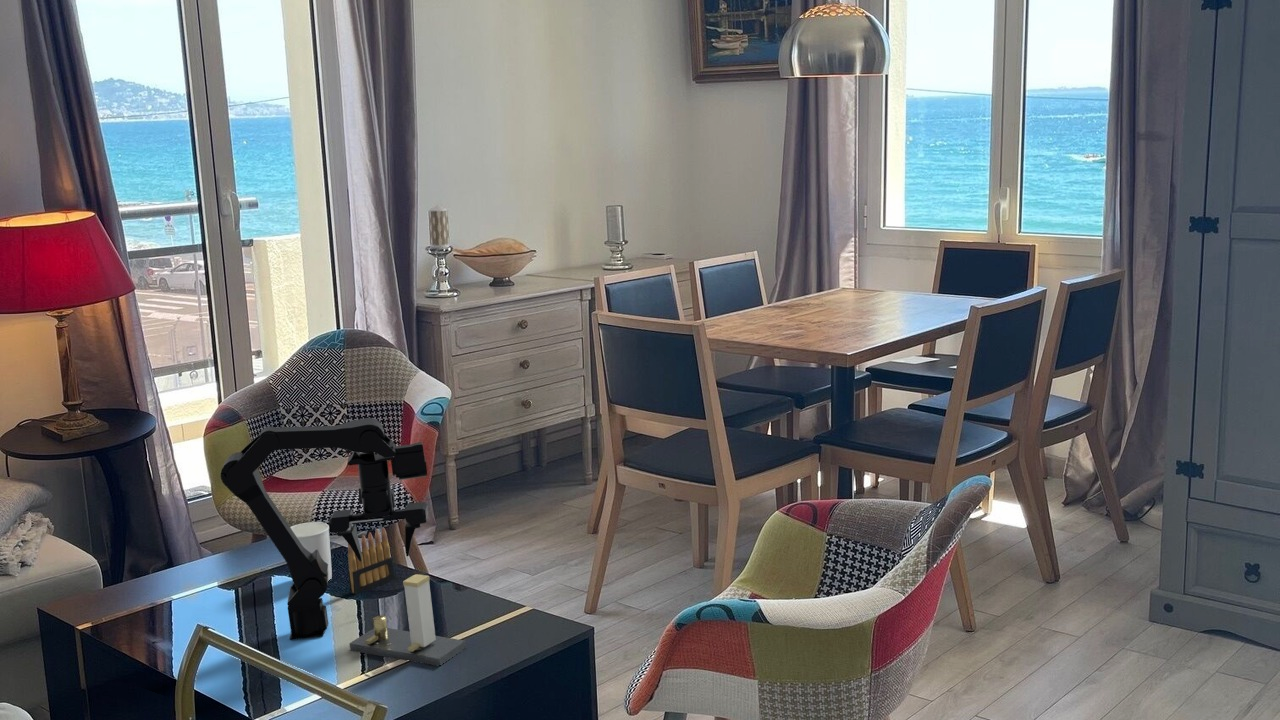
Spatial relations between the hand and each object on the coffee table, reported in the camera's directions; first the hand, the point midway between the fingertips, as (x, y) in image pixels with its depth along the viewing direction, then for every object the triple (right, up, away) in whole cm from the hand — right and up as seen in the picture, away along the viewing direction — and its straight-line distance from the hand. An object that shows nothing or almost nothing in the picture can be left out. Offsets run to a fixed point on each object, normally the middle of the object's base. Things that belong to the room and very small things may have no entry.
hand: (384, 558), depth 236 cm
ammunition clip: (-7, -10, +22) cm, 25 cm away
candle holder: (-22, -10, +27) cm, 36 cm away
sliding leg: (+10, -14, -15) cm, 23 cm away
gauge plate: (+7, -15, -12) cm, 21 cm away
